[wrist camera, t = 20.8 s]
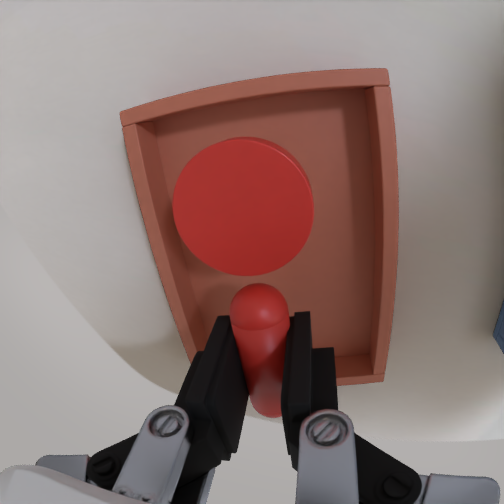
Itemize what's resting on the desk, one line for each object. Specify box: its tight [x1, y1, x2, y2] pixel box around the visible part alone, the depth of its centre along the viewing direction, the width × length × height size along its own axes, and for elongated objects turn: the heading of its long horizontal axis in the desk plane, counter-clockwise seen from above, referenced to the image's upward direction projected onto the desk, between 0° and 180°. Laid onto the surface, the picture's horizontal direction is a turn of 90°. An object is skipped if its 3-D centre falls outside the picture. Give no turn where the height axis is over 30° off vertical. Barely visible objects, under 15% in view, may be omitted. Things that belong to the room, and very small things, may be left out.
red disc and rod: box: [172, 136, 314, 418], centre depth 10 cm, size 10×4×2 cm, turn 9°
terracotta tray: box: [120, 68, 399, 386], centre depth 12 cm, size 13×9×2 cm
